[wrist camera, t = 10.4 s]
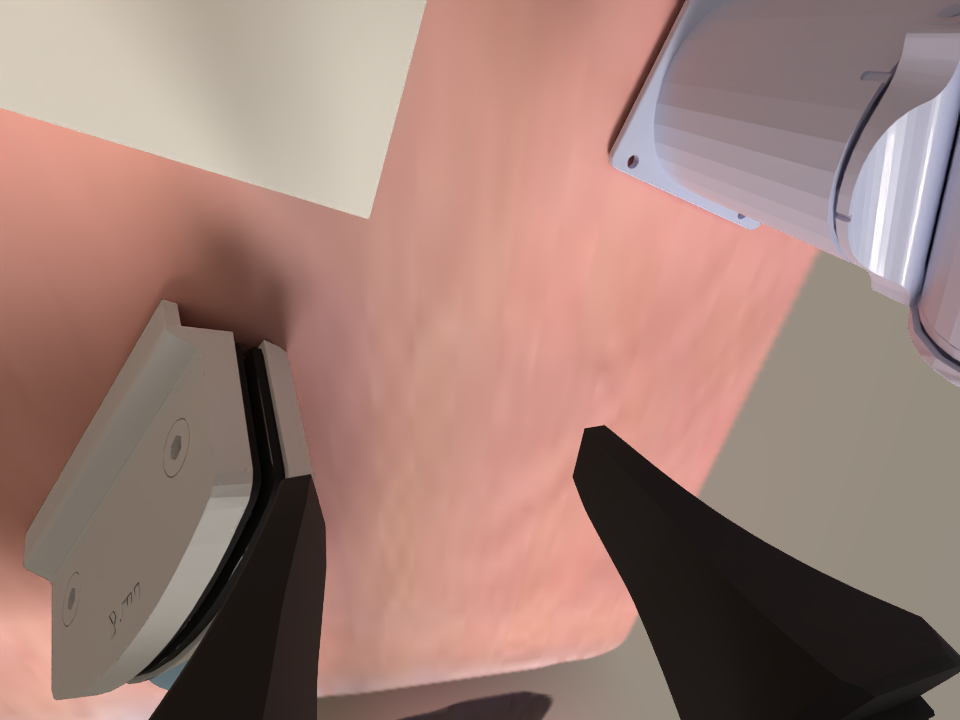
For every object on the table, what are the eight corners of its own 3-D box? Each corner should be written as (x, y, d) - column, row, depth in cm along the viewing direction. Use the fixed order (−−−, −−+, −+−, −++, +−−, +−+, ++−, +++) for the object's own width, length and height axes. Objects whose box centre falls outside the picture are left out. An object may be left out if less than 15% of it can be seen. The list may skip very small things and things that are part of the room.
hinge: (166, 291, 17) (200, 518, 12) (281, 324, 21) (348, 508, 15) (22, 538, 22) (-1, 777, 17) (135, 529, 26) (146, 723, 20)
